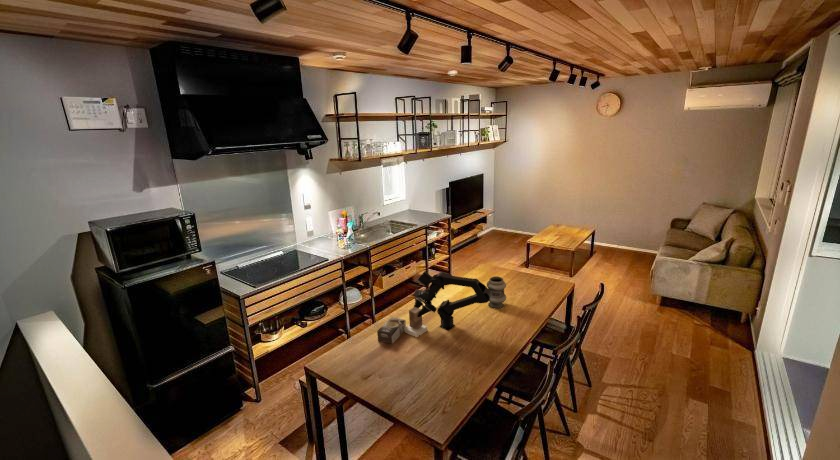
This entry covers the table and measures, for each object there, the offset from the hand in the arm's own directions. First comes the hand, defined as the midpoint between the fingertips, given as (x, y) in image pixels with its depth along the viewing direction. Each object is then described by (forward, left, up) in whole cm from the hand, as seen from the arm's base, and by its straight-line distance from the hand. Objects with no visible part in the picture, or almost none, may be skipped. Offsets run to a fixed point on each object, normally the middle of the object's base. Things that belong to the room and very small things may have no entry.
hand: (415, 314), depth 212 cm
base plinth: (0, 0, -10) cm, 11 cm away
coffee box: (+10, +3, -7) cm, 13 cm away
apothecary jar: (-20, -52, -11) cm, 57 cm away
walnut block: (0, 0, -7) cm, 7 cm away
